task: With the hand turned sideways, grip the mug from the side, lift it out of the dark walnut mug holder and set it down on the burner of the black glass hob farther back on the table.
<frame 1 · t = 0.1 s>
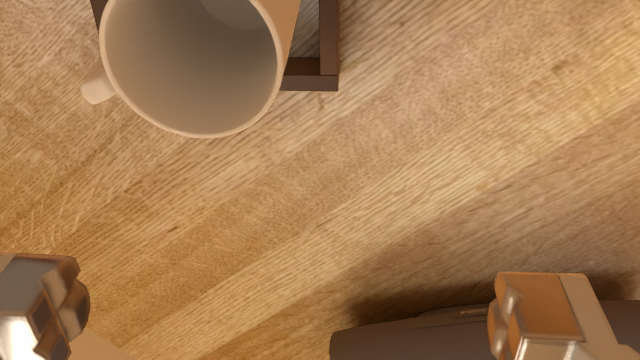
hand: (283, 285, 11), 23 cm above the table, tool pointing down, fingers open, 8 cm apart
bluetooth speaker: (481, 315, 44), on the table
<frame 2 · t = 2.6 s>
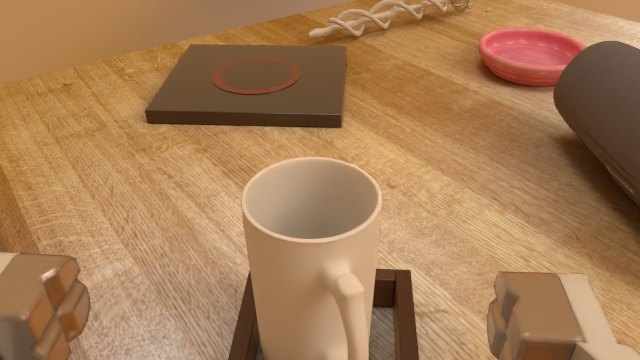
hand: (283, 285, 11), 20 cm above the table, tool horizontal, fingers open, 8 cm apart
saucer: (527, 71, 67), on the table
hob: (257, 86, 64), on the table
sculpture: (402, 27, 80), on the table
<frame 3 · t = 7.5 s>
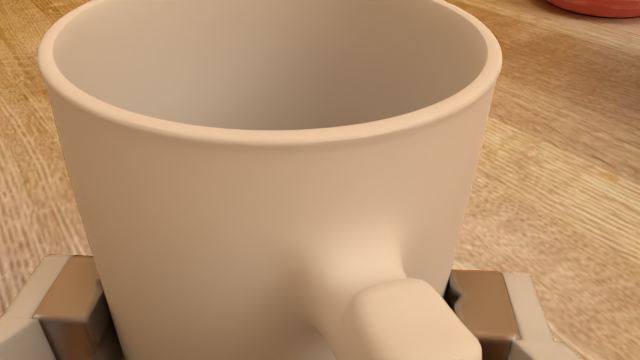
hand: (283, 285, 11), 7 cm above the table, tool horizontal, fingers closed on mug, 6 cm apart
saucer: (598, 3, 49), on the table
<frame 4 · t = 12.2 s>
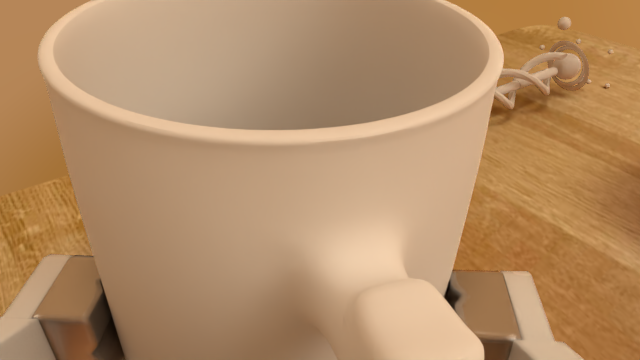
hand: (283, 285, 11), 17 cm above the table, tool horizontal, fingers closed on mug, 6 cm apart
sculpture: (484, 121, 50), on the table
when the fingers open (9 cm above the table, at t = 17.3 s): mug stays where it is, resting on hob.
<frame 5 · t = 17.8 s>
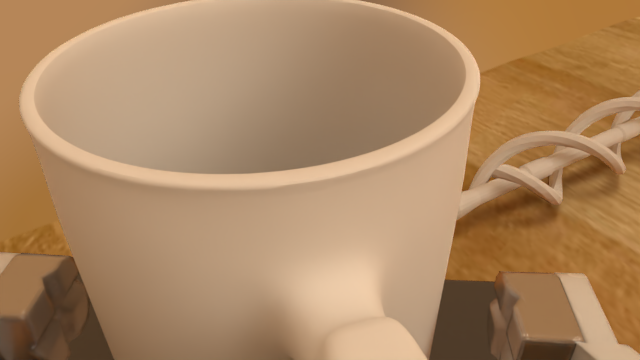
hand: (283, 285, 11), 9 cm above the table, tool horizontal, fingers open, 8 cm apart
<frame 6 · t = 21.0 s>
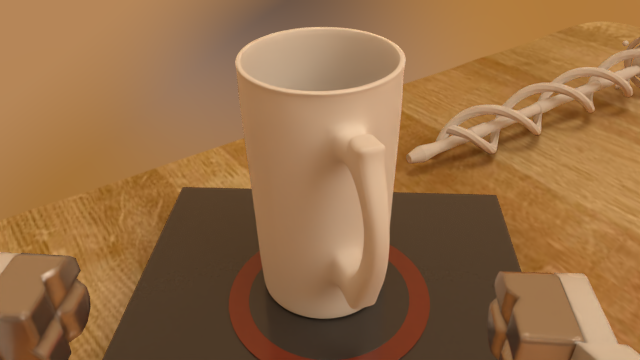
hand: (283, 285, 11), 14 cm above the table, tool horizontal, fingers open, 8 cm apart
mug: (334, 299, 28), point 1 cm above the table, touching hob
hob: (329, 315, 29), on the table
sculpture: (560, 126, 45), on the table
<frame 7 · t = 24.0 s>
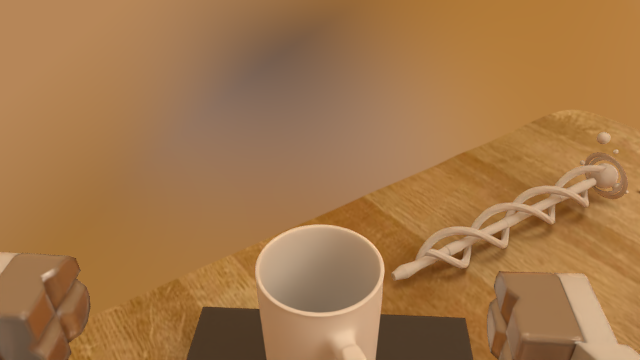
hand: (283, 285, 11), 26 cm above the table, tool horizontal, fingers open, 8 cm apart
sculpture: (526, 233, 52), on the table
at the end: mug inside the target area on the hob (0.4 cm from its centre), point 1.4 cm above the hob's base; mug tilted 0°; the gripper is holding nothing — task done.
